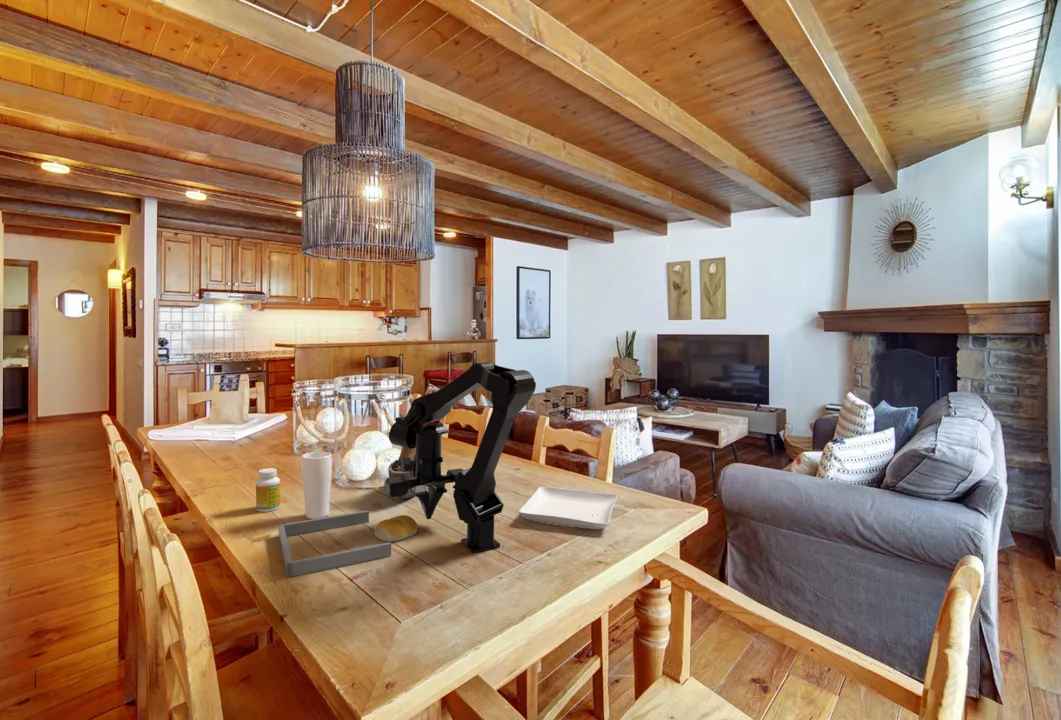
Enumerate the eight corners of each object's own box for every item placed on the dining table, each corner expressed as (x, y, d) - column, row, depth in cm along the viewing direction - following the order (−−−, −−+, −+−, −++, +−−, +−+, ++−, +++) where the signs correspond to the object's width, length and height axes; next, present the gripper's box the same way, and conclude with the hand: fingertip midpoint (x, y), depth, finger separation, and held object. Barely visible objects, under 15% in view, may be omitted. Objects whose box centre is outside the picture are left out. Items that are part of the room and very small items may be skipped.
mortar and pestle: (396, 508, 131) (396, 430, 130) (370, 491, 144) (369, 419, 142) (447, 496, 140) (448, 423, 139) (418, 481, 153) (418, 414, 152)
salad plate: (618, 505, 136) (618, 492, 136) (607, 537, 116) (608, 522, 116) (539, 497, 142) (540, 484, 142) (516, 526, 122) (517, 512, 121)
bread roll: (424, 532, 117) (424, 515, 117) (392, 546, 110) (392, 527, 109) (399, 523, 122) (399, 507, 121) (367, 536, 114) (367, 518, 114)
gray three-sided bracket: (391, 555, 104) (391, 543, 104) (287, 577, 95) (286, 564, 95) (367, 520, 123) (367, 510, 123) (278, 535, 113) (278, 524, 113)
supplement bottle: (270, 513, 127) (269, 474, 126) (251, 511, 128) (250, 472, 127) (285, 505, 132) (284, 468, 131) (266, 503, 133) (265, 466, 132)
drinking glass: (300, 522, 121) (298, 459, 120) (304, 512, 127) (303, 452, 126) (331, 520, 123) (330, 457, 122) (333, 509, 129) (333, 450, 128)
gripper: (454, 440, 129) (454, 501, 131) (378, 448, 120) (378, 513, 122) (471, 450, 120) (471, 516, 121) (390, 459, 111) (390, 530, 112)
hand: (428, 518), depth 119 cm, fingers closed
